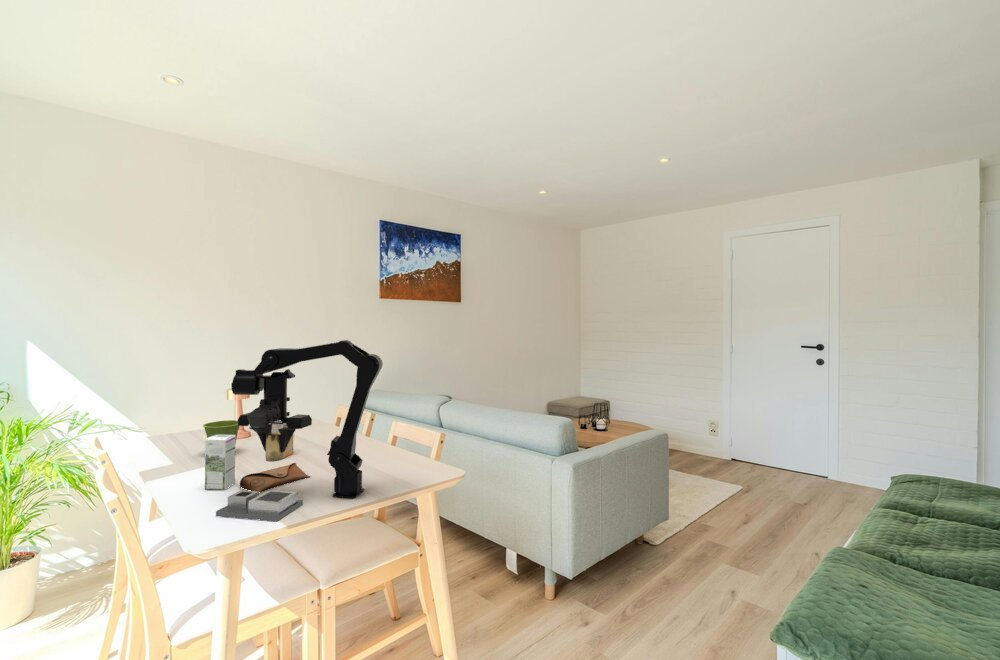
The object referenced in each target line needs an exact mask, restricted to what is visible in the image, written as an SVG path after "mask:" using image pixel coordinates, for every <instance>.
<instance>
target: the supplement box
mask: <svg viewBox="0 0 1000 660" xmlns="http://www.w3.org/2000/svg"><path fill="white" fill-rule="evenodd" d="M277 421H278V420H277ZM279 421H281V420H279ZM269 424H271V423H269ZM280 428H283V424H272V430H271V432H279V431H278V429H280ZM294 434H295V432H294V433H293V435H292V437H291V439H290V441H289V443H288V445H287V447H286V449H285V451H284V452H283V459H285V458H287V457H288V456H290V455H292V454H294V437H295V435H294Z"/></svg>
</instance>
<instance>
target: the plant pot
mask: <svg viewBox="0 0 1000 660" xmlns="http://www.w3.org/2000/svg"><path fill="white" fill-rule="evenodd" d="M202 427H203V428H204V432H205V434H206V439H207V438H209V437H211V436H213V435H235V436H236V441H237V439H238V432H239V430H240V426H238V419H237V420H236V419H230V420H229V419H228V420H216V421H210V422H206V423H204V424H203V425H202ZM236 444H237V442H236V443H235V446H236Z"/></svg>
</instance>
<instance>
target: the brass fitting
mask: <svg viewBox="0 0 1000 660" xmlns="http://www.w3.org/2000/svg"><path fill="white" fill-rule="evenodd" d="M280 440H281V434H280V432H271V433H267V434H266V452H265V461H266V462H271V463H273V462H274V463H275V462H279V461H282V460H284V458H283V453H281V450H280Z"/></svg>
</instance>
